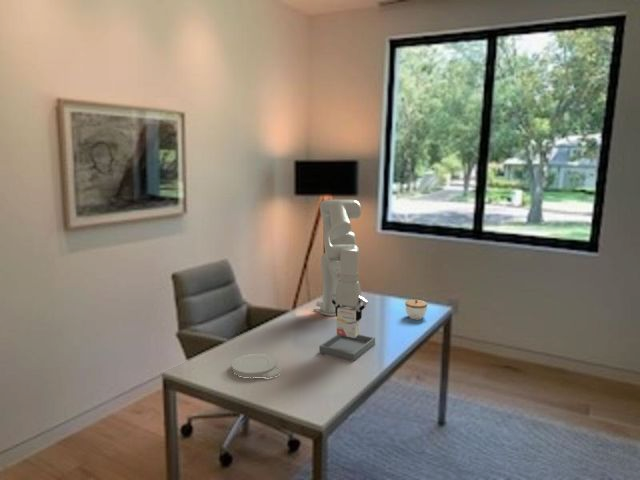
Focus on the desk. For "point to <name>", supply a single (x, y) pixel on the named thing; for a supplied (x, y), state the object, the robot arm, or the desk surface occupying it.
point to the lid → (256, 366)
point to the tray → (347, 346)
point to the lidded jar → (416, 308)
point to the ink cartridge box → (347, 321)
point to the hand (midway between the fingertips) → (348, 317)
